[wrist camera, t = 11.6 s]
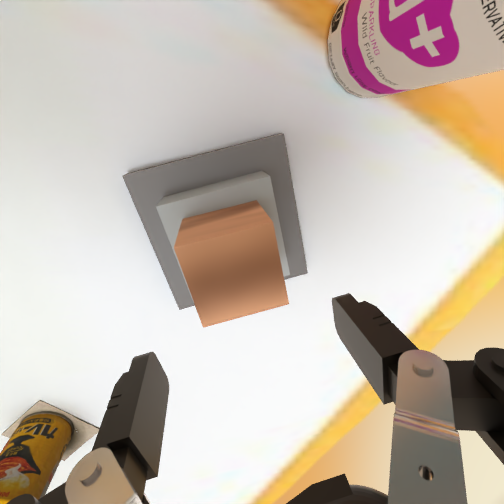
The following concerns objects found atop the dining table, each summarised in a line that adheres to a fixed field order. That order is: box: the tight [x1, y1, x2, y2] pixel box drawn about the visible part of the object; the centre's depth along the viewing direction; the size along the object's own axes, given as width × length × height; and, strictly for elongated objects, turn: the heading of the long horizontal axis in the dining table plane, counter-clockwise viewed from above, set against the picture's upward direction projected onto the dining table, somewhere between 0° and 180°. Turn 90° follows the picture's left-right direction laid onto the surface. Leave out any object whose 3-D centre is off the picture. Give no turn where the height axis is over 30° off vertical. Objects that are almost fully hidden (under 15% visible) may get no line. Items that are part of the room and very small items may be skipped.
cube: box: [174, 200, 289, 327], centre depth 20 cm, size 6×6×6 cm
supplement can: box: [328, 0, 504, 98], centre depth 16 cm, size 8×8×15 cm
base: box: [123, 134, 307, 310], centre depth 25 cm, size 14×14×5 cm
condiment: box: [0, 401, 99, 504], centre depth 29 cm, size 7×8×12 cm
